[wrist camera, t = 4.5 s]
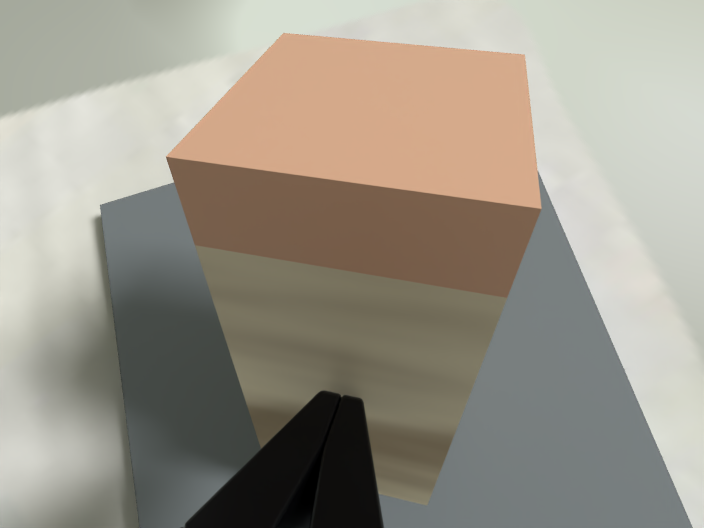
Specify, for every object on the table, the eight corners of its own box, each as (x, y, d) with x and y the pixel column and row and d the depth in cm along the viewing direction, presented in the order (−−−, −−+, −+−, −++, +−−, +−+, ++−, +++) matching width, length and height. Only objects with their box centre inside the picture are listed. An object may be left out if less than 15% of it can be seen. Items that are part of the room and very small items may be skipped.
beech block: (427, 505, 12) (542, 209, 5) (266, 466, 13) (165, 156, 6) (441, 363, 15) (524, 54, 8) (312, 338, 16) (283, 33, 9)
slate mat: (790, 785, 12) (816, 812, 11) (206, 932, 13) (193, 967, 12) (495, 96, 18) (499, 83, 18) (112, 212, 19) (100, 205, 18)
